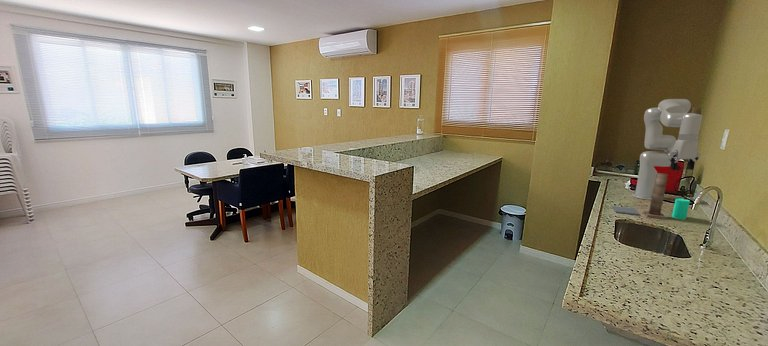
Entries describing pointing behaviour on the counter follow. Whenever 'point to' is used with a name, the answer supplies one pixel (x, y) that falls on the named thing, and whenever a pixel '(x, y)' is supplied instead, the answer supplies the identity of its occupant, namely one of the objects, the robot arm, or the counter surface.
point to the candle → (680, 208)
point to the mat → (625, 210)
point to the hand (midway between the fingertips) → (681, 169)
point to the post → (657, 197)
